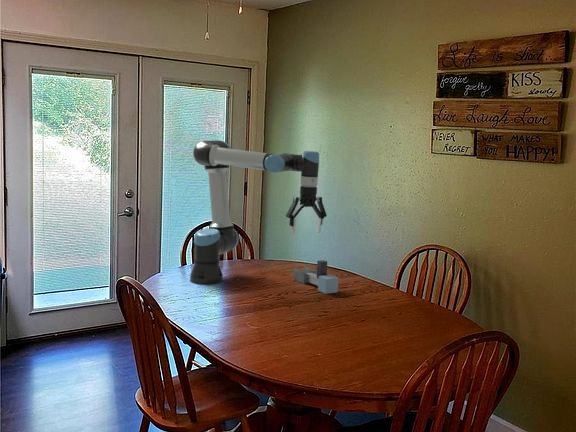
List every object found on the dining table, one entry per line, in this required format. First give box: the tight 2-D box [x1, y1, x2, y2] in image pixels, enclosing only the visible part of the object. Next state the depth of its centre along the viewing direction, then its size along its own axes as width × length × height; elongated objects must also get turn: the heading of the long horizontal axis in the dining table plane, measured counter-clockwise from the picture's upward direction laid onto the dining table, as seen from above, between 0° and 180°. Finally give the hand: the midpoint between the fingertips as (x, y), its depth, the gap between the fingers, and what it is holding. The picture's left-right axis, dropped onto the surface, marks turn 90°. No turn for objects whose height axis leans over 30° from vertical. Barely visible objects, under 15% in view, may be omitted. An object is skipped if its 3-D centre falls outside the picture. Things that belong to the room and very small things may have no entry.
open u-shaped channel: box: [293, 266, 317, 285], centre depth 280 cm, size 9×7×5 cm
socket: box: [317, 274, 339, 295], centre depth 263 cm, size 6×7×7 cm
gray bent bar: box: [306, 259, 328, 287], centre depth 270 cm, size 16×3×11 cm, turn 30°
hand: (305, 232), depth 267 cm, fingers open, 13 cm apart
